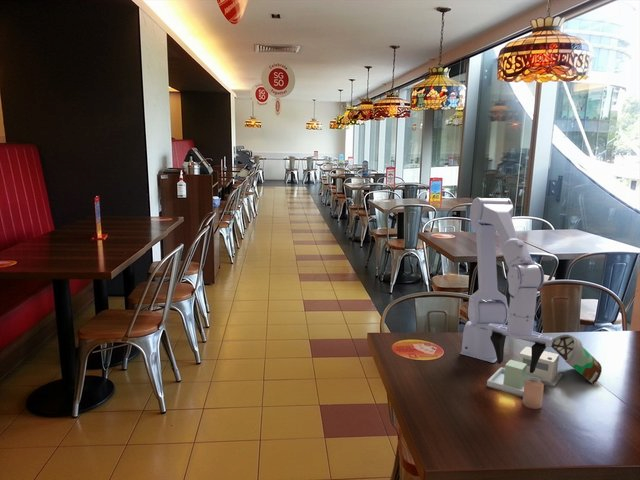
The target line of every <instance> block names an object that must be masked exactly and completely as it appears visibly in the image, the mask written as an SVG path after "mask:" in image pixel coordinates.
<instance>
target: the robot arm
mask: <svg viewBox="0 0 640 480" xmlns="http://www.w3.org/2000/svg"><path fill="white" fill-rule="evenodd" d="M469 212H470V213H469V215H470V227H471V229H472V230H473V231H475V234H476V257H477V277H478V289H477V290H476V291H475V292H474V293H473V294H471V295H470V296H469V297H468V306H467V317H468V321H466V323H465V325H464V327H463V332H462V344H461V351H460V354H461V355H464V356H467V357H470V358H474V359H478V360H481V361H486V362H488V363H492V364H494V363H497V364H498V365H501V363H503V360H504V353H505V352H504V351H505V343H506V339H507V337H509V338H512V339H515V340H516V339H517V340H522V341H525V342H526V341H527V342H529V343H534V344H533V345H532V346H531V349H532V357H531V365H530V373H533V372H534V371H535V368H536V365H537V363H538V360H539V358H540V356H541V355H542V353H543V351H546V348H549V349H550V348H552V347H551V346H552V342H553V339H554V337H553V336H552V337H551V336H549V335H546V334H542V333H540V332H537V331H535V330H534V324H535V323H534V322H535V314H536V306H537V297H538V296H537V295H538V289H540V288H542V286H543V285H544V282H545V273H544V272H545V271H544V270H543V267H542V265H541V264H540V263H537V262H536V261H535V260H533V258H532V256H531V254H530V251H529V249H528V248H527V245H526V243H525V241H524V240H522V239H518V236H517V232H516V229H515V227H514V223H513V220H512V219H513V215H514V205H513V202H512V200H511V199H510V198H509V197H505V198H498V197H496V198H495V197H492V198H491V197H489V198H487V197H478V196H477V197H475V198H474V199H473V200H472V202H471V205H470V209H469ZM496 233H497V235H498V236H499V239H500V241H501V242H502V244H503V245H502V246H501V249H500V251H501V254H502V256H503V258H504V260H505V263H506V267H507V269H508V272H507V282H508V293H509V295H510V296H509V304H508V300H507V296H505V295H504V294H503V293H502V292H501V291H500V290H499V289H498V272H497V271H498V269H497V254H496V252H497V251H496V249H497V248H496Z"/></svg>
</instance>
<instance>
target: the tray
mask: <svg viewBox="0 0 640 480" xmlns="http://www.w3.org/2000/svg"><path fill="white" fill-rule="evenodd" d="M504 372H505V367H502V366H500V367H499V368H498V369H497V370H496V371H495V372H494V374H492V375H491V376H490V377H489V378H488V379H487V380H486V387H489V388H492V389H494V390H499V391H502V392H504V393H508V394H512V395H515V396H518V397H520V398H523V392H524V385H523V386H522V388H521V389H518V388H515V387H512V386H509V385H505V384H503V382H504ZM526 380H536V381H539V382H541V381H542V379H541V378H538V377H534V376H530V375H527V374H526ZM526 380H525V381H526Z"/></svg>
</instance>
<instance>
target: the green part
mask: <svg viewBox="0 0 640 480" xmlns="http://www.w3.org/2000/svg"><path fill="white" fill-rule="evenodd" d="M504 368H505V372H504V382H503V384H505V385H509V386H512V387H515V388H518V389H521V388H522V386H523V385H524V383H525V380H526V371H527V364H525V363H521V362H519V360H514V359H508V362H506V364H504Z"/></svg>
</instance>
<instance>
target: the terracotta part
mask: <svg viewBox="0 0 640 480" xmlns="http://www.w3.org/2000/svg"><path fill="white" fill-rule="evenodd" d="M544 387H545V385H544V384H543V383H541V382H539V381H536V380H526V381H525V383H524V392H523V397H522V405H523V406H524V407H527V408H528V409H535V410H537V409H538V410H539V409H541V408H542V405H543V396H544Z"/></svg>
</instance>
